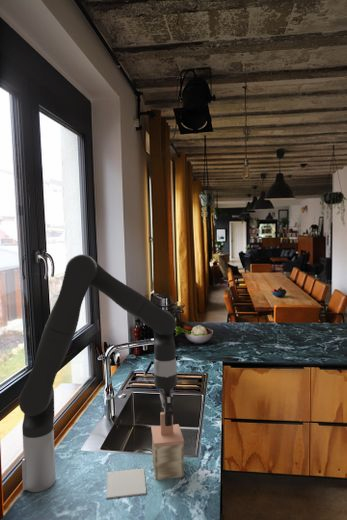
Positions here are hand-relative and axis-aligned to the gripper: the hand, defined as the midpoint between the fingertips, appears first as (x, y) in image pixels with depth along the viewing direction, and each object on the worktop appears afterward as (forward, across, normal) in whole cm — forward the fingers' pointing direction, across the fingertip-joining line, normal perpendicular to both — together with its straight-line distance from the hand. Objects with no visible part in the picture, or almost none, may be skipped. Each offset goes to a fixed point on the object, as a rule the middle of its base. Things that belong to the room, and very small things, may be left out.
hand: (166, 419), depth 122 cm
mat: (+17, +5, -14) cm, 23 cm away
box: (+17, 0, 0) cm, 17 cm away
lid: (+6, 0, 0) cm, 6 cm away
